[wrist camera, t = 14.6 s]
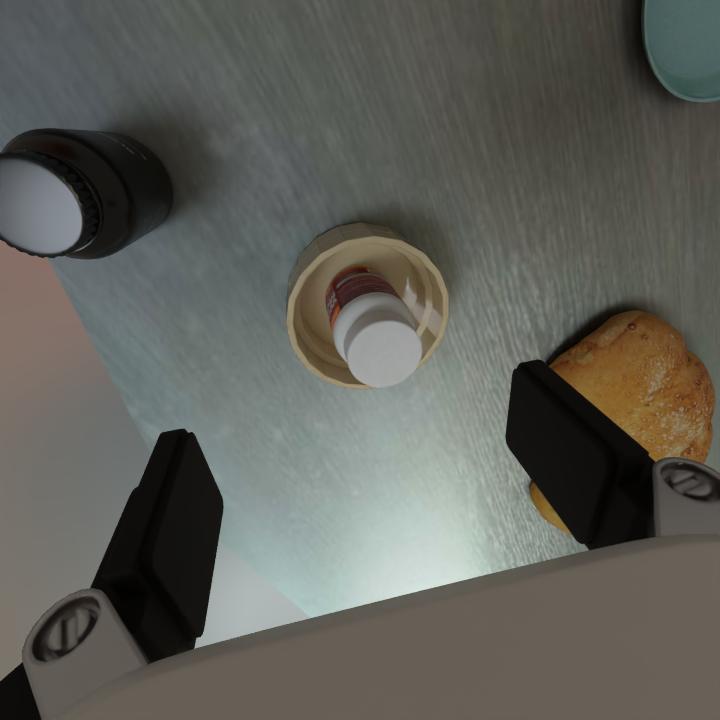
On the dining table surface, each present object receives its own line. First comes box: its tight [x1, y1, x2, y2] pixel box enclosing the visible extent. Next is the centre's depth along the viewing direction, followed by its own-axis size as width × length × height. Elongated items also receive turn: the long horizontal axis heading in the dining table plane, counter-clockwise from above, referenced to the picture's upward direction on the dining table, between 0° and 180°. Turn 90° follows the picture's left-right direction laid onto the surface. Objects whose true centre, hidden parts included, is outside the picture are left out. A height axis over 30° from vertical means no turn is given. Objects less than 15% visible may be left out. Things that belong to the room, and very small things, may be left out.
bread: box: [530, 310, 715, 535], centre depth 45 cm, size 32×20×10 cm, turn 9°
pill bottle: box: [325, 265, 422, 388], centre depth 30 cm, size 6×6×11 cm
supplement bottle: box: [0, 128, 173, 259], centre depth 23 cm, size 7×7×12 cm
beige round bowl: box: [286, 223, 449, 390], centre depth 33 cm, size 13×13×6 cm
